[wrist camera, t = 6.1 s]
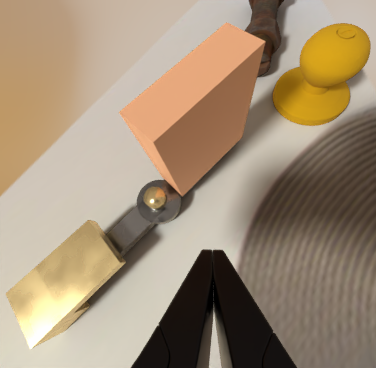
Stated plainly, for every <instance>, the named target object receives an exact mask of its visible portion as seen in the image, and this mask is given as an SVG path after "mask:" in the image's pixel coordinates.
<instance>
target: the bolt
mask: <svg viewBox="0 0 376 368" xmlns="http://www.w3.org/2000/svg"><path fill="white" fill-rule="evenodd" d="M283 1H284V0H249V3H250V6H251V9H252V17H251V22H250V24H249V25H248V27H247V28H246V30H245V32H247V33H249V34H251V35H253V36H256V37H258V38H260V39H262V40H264V41H266V42H265V46H264V50H263V54H262V58H261V62H260V66H259V70H258V75H257V76H260V75H263V74H264V73H266V72H267V71H268V70H269V68H270V63H271V56H272V55H273V54H274V53H275V51H276V50H277V49H278V48H279V46H280V43H281V36H280V31H279V27H278V24H277V21H276V17H277V9H278V7H279V6H280V5H281V4H282V2H283Z"/></svg>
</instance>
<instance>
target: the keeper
mask: <svg viewBox="0 0 376 368" xmlns="http://www.w3.org/2000/svg"><path fill="white" fill-rule="evenodd" d="M125 263H126V262H125V260H124V259H123V257H122V256H121V255H120V253H119V252H118V251H117V249H116V248H115V247H114V245H113V244H112V243H111V241H110V240H109V239H108V237H107V236H106V235H105V233H104V232H103V231H102V229H101V228H100V227H99V225H98V224H97V223H96V222H95V221H91V220H88V221H87V222H86V223H84V224H83V225H82V226H81V227H80V228H79V229H78V230H77V231H75V232H74V233H73V234H72V235H71V236H70V237H69V238H68V239H66V240H65V241H64V242H63V243H62V244H61V245H60V246H59V247H58V248H56V249H55V250H54V251H53V252H52V253H51V254H50V255H49V256H47V257H46V258H45V259H44V260H43V261H42V262H41V263H40V264H38V265H37V266H36V267H35V268H34V269H33V270H32V271H31V272H29V273H28V274H27V275H26V276H25V277H24V278H23V279H22V280H21V281H19V282H18V283H17V284H16V285H15V286H14V287H13V288H12V289H10V290H9V291H8V292H7V293H6V296H7V298H8V300H9V302H10V304H11V307H12V309H13V311H14V313H15V315H16V318H17V320H18V322H19V324H20V326H21V329H22V331H23V333H24V335H25V337H26V340H27V342H28V344H29V346H30V348H33V347H35V346H37V345H39V344H41V343H43V342H45V341H47V340H49V339H51V338H52V337H54V336H56V335H58V334H60V333H62V332H64V331H65V330H66V329H67V328H68V327H69V326H70V325H71V324H73V323H74V322H75V321H76V320H77V319H78V318H79V317H80V316H81V315H82V314H83V313H84V312H85V311H86V310H87V309H88V308H89V307H90V305H89V303H88V302H87V300H88V299H89V298H90V297H91V296H92V295H93V294H94V293H95V292H96V291H97V290H98V289H99V288H100V287H101V286H102V285H103V284H104V283H105V282H106V281H107V280H108V279H109V278H110V277H111V276H112V275H113V274H114V273H116V272H117V271H118V270H119V269H120V268H121V267H122V266H123V265H124V264H125Z"/></svg>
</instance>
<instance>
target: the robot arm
mask: <svg viewBox="0 0 376 368" xmlns="http://www.w3.org/2000/svg"><path fill="white" fill-rule="evenodd" d="M213 292H214V297H213ZM213 311H214V313H215V321H216V329H217V336H218V344H219V351H220V359H221V366H222V368H297V367H296V365H295V364H294V362H293V361H292V359H291V358H290V356H289V355H288V353H287V352H286V350H285V348H284V347H283V345H282V344H281V342H280V341H279V339H278V337H277V336H276V334H275V333H273V330H272V328H271V326H270V325H269V323H268V322H267V320H266V318H265V317H264V315H263V313H262V312H261V310H260V309H259V307H258V305H257V304H256V302H255V301H254V299H253V297H252V296H251V294H250V293H249V291H248V289H247V288H246V286H245V285H244V283H243V281H242V280H241V278H240V277H239V275H238V273H237V272H236V270H235V269H234V267H233V265H232V264H231V262H230V261H229V259H228V257H227V256H226V254H225V253H224V251H223V250H213V255H212V250H202V251H201V252H200V254H199V256H198V257H197V259H196V261H195V263H194V264H193V266H192V268H191V269H190V271H189V273H188V274H187V276H186V278H185V280H184V281H183V283H182V285H181V286H180V288H179V290H178V292H177V293H176V295H175V297H174V298H173V300H172V302H171V303H170V305H169V307H168V309H167V310H166V312H165V314H164V315H163V317H162V319H161V320H160V322H159V326H157V327H156V329H155V331H154V332H153V334H152V336H151V337H150V339H149V341H148V342H147V344H146V345H145V347H144V349H143V350H142V352H141V353H140V355H139V356H138V358H137V359H136V361H135V362H134V364H133V365H132V366H131V368H209V358H210V346H211V335H212V324H213Z"/></svg>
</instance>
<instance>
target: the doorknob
mask: <svg viewBox="0 0 376 368" xmlns="http://www.w3.org/2000/svg"><path fill="white" fill-rule="evenodd" d="M369 54H370V40H369V37H368V35H367V34H366V32H365V31H364V30H362V29H361V28H359V27H358V26H355V25H352V24H345V23H341V24H333V25H330V26H327V27H325V28H323V29H321V30H319V31H318V32H317V33H315V34H314V35H313V36H312V37H311V38H310V39H309V40H308V41H307V42H306V43H305V45H304V47H303V49H302V51H301V55H300V67H297V68H294V69H291V70H289V71H287V72H286V73H284V74H283V75H282V76H281V77H280V78H279V80H278V81H277V83H276V85H275V88H274V91H273V103H274V106H275V108H276V109H277V111H278V112H279V113H280V114H281V115H282V116H283V117H285V118H286V119H288V120H290V121H292V122H294V123H297V124H301V125H309V126H315V125H321V124H325V123H328V122H330V121H332V120H334V119H335V118H337V117H338V116H339V115H340V114H341V113H342V111H343V110H344V109H345V108H346V106H347V105H348V103H349V99H350V91H349V87H348V85H347V83H346V82H345V81H347V80H348V79H350V78H352V77H353V76H355V75H356V74H357V73H358V72H359V71H360V70H361V69H362V68H363V67H364V66H365V64H366V62H367V60H368V58H369Z"/></svg>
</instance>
